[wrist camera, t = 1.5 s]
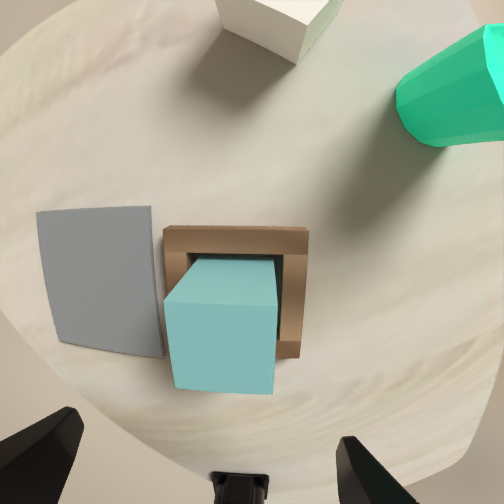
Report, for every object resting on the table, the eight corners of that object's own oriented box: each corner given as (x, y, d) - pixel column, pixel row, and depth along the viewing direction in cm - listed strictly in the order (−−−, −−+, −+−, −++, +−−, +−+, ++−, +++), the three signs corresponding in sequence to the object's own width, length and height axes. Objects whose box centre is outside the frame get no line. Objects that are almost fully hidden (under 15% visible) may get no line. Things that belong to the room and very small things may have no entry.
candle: (469, 123, 17) (582, 107, 5) (427, 162, 18) (554, 162, 6) (426, 60, 16) (524, 2, 4) (379, 94, 17) (482, 27, 5)
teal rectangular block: (270, 323, 21) (272, 394, 14) (203, 320, 22) (175, 387, 14) (273, 257, 20) (277, 305, 12) (200, 255, 20) (163, 301, 13)
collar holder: (297, 347, 22) (299, 358, 20) (179, 342, 22) (174, 352, 21) (305, 227, 19) (309, 231, 18) (170, 225, 20) (162, 229, 18)
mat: (164, 355, 22) (162, 358, 22) (61, 338, 23) (59, 340, 22) (150, 205, 20) (148, 206, 19) (39, 211, 20) (36, 212, 20)
